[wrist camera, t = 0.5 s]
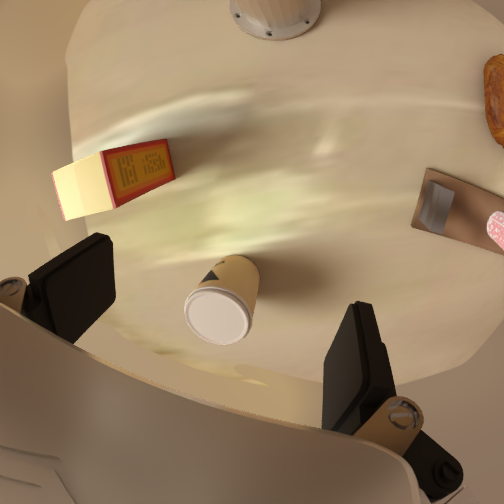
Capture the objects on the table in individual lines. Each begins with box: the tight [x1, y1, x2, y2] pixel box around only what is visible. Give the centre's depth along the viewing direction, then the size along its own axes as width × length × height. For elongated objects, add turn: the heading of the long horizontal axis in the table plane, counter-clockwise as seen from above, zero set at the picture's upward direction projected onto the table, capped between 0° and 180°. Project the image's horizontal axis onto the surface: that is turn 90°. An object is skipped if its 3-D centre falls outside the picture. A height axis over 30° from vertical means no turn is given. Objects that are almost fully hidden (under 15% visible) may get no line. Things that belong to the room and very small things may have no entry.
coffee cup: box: [184, 255, 260, 345], centre depth 43 cm, size 9×9×12 cm
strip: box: [411, 168, 504, 255], centre depth 33 cm, size 9×22×6 cm, turn 82°
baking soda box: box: [51, 139, 175, 221], centre depth 36 cm, size 10×6×16 cm
